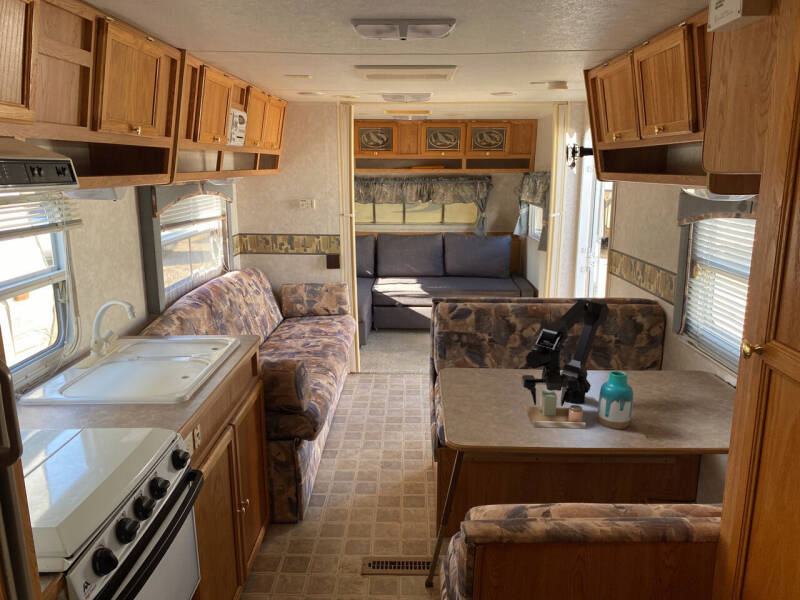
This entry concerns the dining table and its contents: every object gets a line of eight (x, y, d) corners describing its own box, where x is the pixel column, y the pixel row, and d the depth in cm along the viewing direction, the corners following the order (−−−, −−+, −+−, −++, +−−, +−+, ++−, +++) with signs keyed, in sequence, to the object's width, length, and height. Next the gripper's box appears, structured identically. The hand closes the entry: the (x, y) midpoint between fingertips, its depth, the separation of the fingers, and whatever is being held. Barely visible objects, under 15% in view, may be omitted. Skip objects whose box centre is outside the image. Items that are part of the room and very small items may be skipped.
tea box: (539, 407, 205) (541, 388, 204) (551, 407, 205) (552, 389, 204) (543, 415, 199) (545, 396, 197) (555, 415, 198) (557, 396, 197)
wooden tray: (572, 411, 206) (572, 403, 205) (584, 432, 189) (585, 423, 189) (523, 410, 206) (524, 401, 206) (532, 431, 190) (533, 421, 189)
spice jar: (579, 421, 195) (581, 404, 193) (583, 426, 190) (584, 410, 189) (566, 420, 195) (567, 404, 193) (569, 426, 190) (571, 409, 189)
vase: (612, 419, 200) (617, 366, 196) (637, 431, 191) (643, 376, 187) (589, 424, 196) (594, 370, 191) (613, 437, 186) (619, 380, 182)
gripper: (527, 369, 191) (525, 413, 194) (585, 371, 190) (581, 415, 193) (522, 359, 202) (519, 401, 205) (576, 360, 201) (573, 402, 204)
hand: (548, 405), depth 202 cm, fingers open, 9 cm apart
